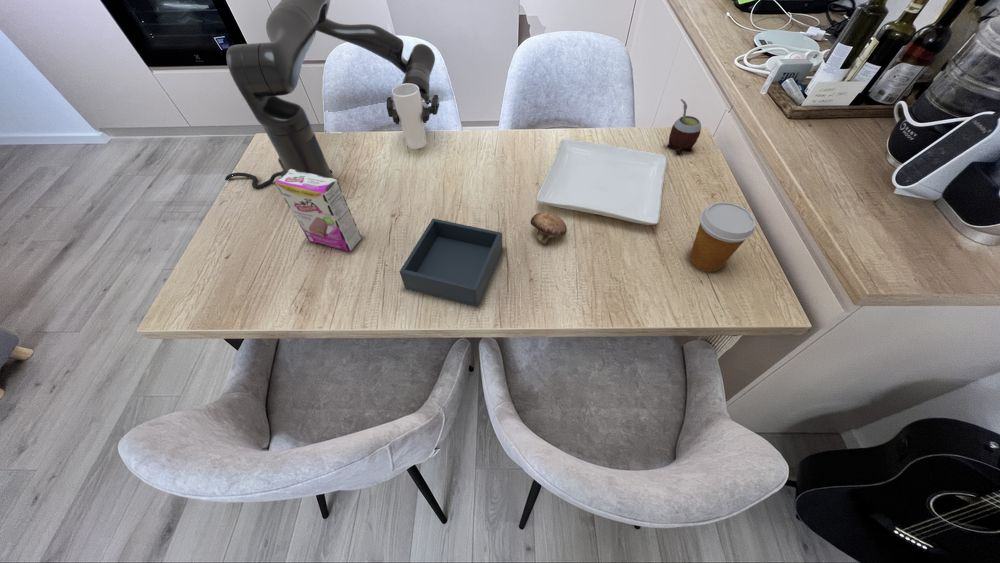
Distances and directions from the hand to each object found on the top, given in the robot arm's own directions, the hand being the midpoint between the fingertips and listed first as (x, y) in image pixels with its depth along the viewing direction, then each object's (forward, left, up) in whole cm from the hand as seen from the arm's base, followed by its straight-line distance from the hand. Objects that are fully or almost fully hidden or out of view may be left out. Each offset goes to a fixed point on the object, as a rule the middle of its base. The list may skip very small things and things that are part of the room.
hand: (410, 120), depth 100 cm
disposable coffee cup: (+74, -18, -11) cm, 77 cm away
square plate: (+50, 0, -11) cm, 51 cm away
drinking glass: (-1, +2, -8) cm, 9 cm away
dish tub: (+25, -35, -10) cm, 44 cm away
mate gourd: (+67, +22, -11) cm, 72 cm away
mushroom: (+41, -20, -11) cm, 47 cm away
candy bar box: (-4, -35, -11) cm, 37 cm away
